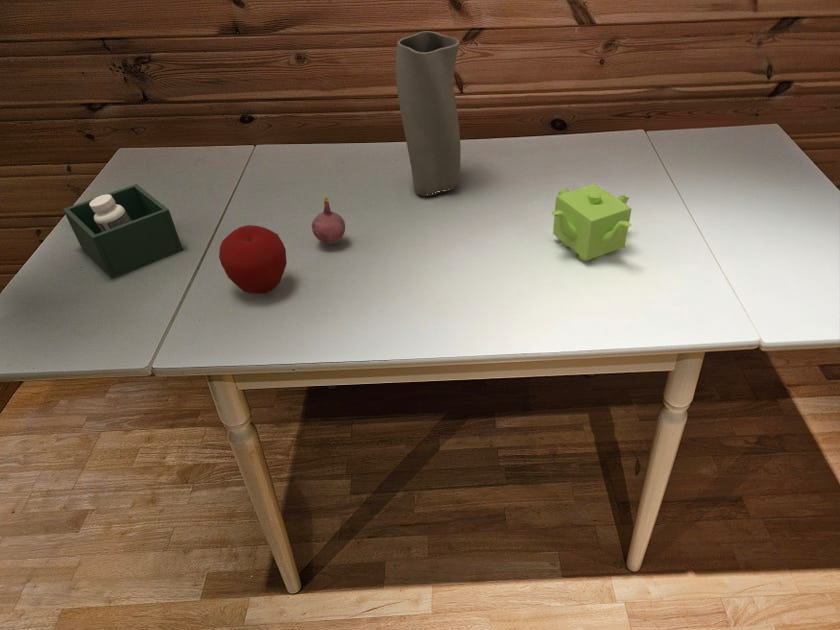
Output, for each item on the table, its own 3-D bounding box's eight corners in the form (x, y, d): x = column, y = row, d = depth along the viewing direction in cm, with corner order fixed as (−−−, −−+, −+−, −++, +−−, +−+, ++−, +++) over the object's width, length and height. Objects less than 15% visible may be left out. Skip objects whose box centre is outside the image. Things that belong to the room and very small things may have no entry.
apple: (226, 278, 117) (208, 221, 109) (285, 264, 121) (272, 208, 113) (236, 313, 110) (217, 254, 102) (299, 298, 113) (286, 239, 105)
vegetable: (351, 249, 125) (344, 202, 118) (319, 256, 123) (310, 208, 116) (343, 233, 129) (336, 187, 122) (312, 240, 127) (303, 193, 120)
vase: (423, 207, 136) (414, 56, 116) (395, 184, 144) (382, 38, 123) (472, 192, 141) (472, 44, 121) (443, 170, 149) (438, 27, 128)
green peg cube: (622, 273, 119) (632, 219, 111) (545, 264, 121) (549, 210, 114) (627, 230, 130) (636, 178, 122) (556, 222, 132) (560, 171, 124)
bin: (111, 279, 117) (92, 237, 111) (82, 249, 124) (62, 208, 118) (183, 249, 124) (168, 209, 118) (151, 223, 131) (136, 183, 125)
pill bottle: (147, 235, 125) (119, 189, 118) (139, 250, 121) (109, 204, 114) (120, 240, 125) (90, 195, 119) (111, 256, 121) (80, 210, 115)
